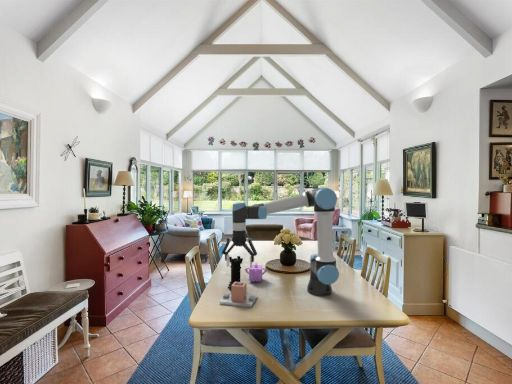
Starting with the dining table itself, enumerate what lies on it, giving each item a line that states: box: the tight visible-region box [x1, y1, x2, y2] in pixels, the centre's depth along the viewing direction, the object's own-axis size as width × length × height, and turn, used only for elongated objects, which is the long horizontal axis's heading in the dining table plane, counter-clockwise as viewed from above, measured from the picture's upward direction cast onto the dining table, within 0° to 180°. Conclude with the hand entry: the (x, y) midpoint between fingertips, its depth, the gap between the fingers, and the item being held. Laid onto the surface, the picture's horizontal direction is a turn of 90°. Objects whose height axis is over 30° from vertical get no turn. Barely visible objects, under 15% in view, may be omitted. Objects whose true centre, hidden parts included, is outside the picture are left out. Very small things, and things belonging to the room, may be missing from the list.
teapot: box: [244, 262, 268, 283], centre depth 195 cm, size 15×13×11 cm
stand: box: [219, 283, 258, 308], centre depth 160 cm, size 18×14×10 cm
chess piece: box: [227, 255, 244, 292], centre depth 178 cm, size 8×8×20 cm
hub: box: [230, 281, 247, 301], centre depth 160 cm, size 7×7×8 cm
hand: (239, 267), depth 160 cm, fingers open, 13 cm apart
